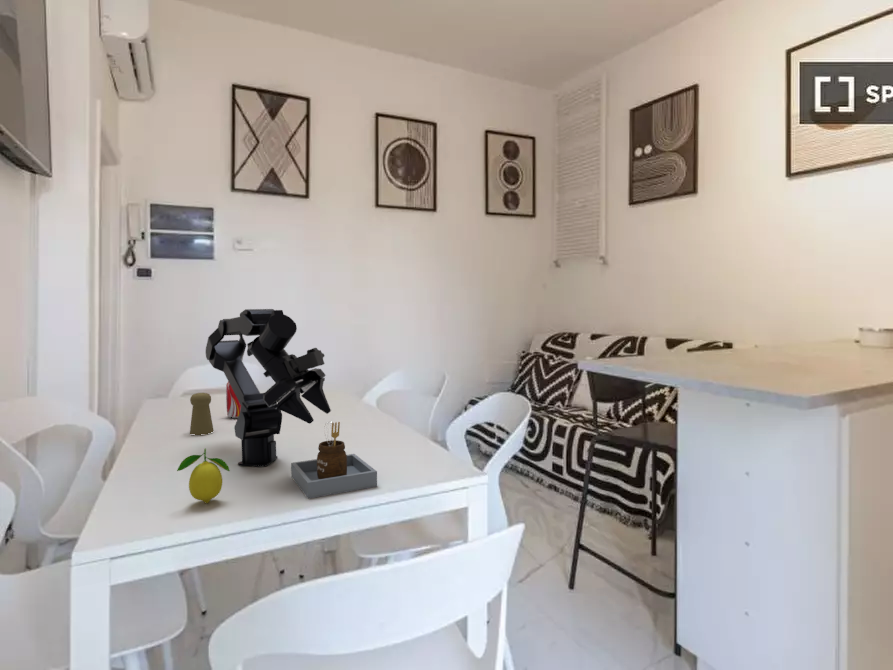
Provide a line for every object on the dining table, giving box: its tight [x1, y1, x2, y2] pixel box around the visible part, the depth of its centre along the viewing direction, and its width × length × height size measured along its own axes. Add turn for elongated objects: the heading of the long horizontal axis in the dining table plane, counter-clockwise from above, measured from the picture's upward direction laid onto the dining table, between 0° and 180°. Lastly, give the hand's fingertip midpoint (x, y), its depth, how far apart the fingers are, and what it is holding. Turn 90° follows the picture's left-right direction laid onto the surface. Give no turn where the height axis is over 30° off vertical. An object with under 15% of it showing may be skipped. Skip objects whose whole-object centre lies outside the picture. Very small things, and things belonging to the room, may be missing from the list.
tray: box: [290, 453, 378, 500], centre depth 108 cm, size 14×14×3 cm
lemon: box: [176, 448, 230, 504], centre depth 96 cm, size 7×6×10 cm
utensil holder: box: [316, 421, 348, 479], centre depth 107 cm, size 6×6×12 cm
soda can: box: [225, 380, 241, 419], centre depth 166 cm, size 7×7×12 cm
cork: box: [189, 392, 214, 436], centre depth 146 cm, size 6×6×11 cm
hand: (320, 417), depth 113 cm, fingers open, 9 cm apart
